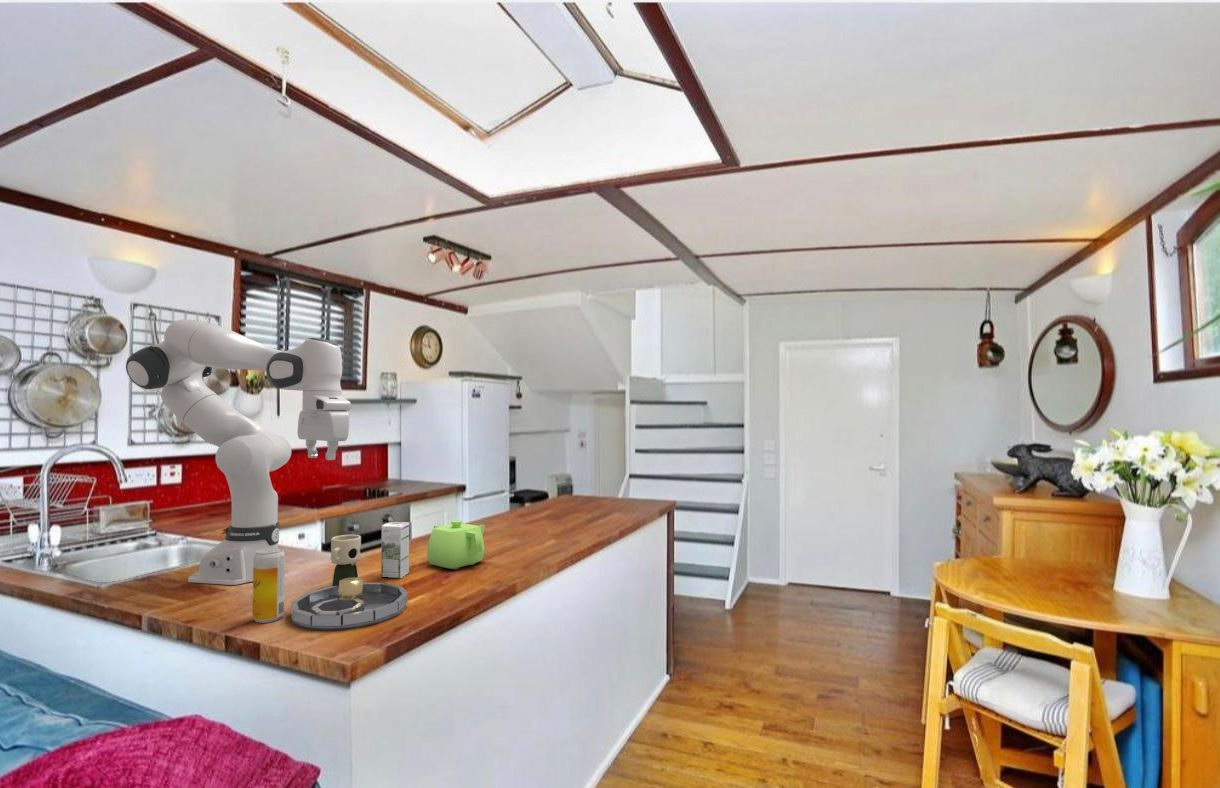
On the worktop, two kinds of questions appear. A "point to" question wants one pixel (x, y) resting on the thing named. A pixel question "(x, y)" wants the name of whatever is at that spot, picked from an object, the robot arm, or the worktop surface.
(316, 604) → the tray
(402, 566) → the syrup box
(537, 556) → the worktop surface
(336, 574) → the character mug
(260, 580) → the beer can
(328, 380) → the robot arm
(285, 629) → the worktop surface
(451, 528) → the teapot
